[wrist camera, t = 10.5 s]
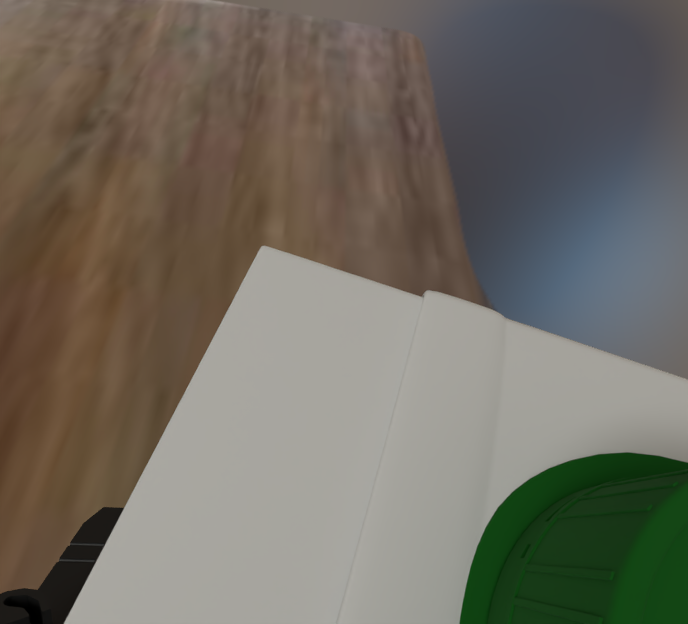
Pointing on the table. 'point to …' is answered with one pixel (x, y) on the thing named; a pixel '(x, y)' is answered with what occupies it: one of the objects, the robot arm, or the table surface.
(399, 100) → the table surface
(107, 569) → the soya milk
